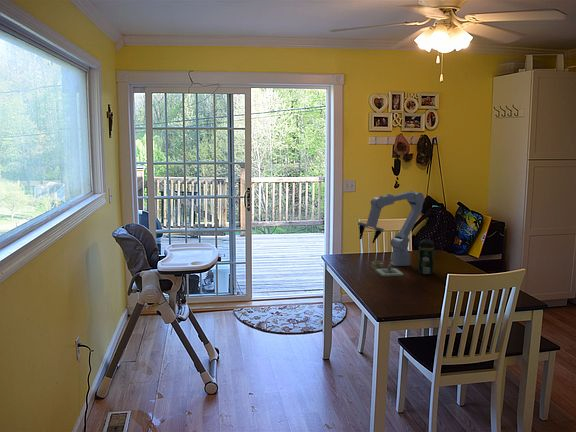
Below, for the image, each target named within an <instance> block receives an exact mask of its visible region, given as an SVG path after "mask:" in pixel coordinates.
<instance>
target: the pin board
mask: <svg viewBox="0 0 576 432" xmlns="http://www.w3.org/2000/svg"><path fill="white" fill-rule="evenodd" d="M374 270H375V272H376V273H378V275H380V276H381V277H403V276H404V275H405V274H404V273H403V272H402V271H400V269H399V268H395V267H394V268H392V264H391V263H389V264H388V265H387V268H383V269H374Z"/></svg>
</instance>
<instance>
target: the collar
mask: <svg viewBox="0 0 576 432" xmlns="http://www.w3.org/2000/svg"><path fill="white" fill-rule="evenodd" d="M370 267H371V268H372V269H373V270H375V269H384V263H383V262H381V261H371V266H370Z"/></svg>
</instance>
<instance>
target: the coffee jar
mask: <svg viewBox="0 0 576 432" xmlns="http://www.w3.org/2000/svg"><path fill="white" fill-rule="evenodd" d="M418 244H419V245H418V264H417V265H418V266H417V267H418V269H417V270H418V273H419V275H423V276H424V275H425V276H427V275H432V274H433V272H434V253H435V252H434V251H435V242H434V241H433V240H432V239H427V238H424V239H422V240H420V241H419V243H418Z"/></svg>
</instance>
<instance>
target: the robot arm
mask: <svg viewBox="0 0 576 432" xmlns="http://www.w3.org/2000/svg"><path fill="white" fill-rule="evenodd" d="M403 200H406V201H407V203H408V204H409V205H410V207H411V210H410V212H409V213H408V215H407V217H406V219H405V220H404V223H403V225H402V227H401V228H400V230H399V232H398V233H395V235H394V236H393V237H392V238H391V240H390V246H391V247H392V261H389V264H390V265H391V266H394V267H401V266H402V267H406V266H410V260H411V257H410V256H411V255H410V251H409V249H408V247H409V242H410V238H409V235H410V234H411V231H412V230H413V228H414V226H415V224H416V222H417V220H418V219H419V216H420V215H421V212H422V211H423V205H424V202H425V200H426V198H425V195H424V194H423V193H422V192H417V191H413V190H411V191H410V190H409V191H405V192H402V193H399V194H398V193H397V194H394V195H393V194H390V193H387V194H386V195H380V196H378V197H377V196H374V197H373V198H372V199H371V200H370V211H369V214H368V217H367V221H366V223H363V222H361V221H359V222H358V224H357V226H358V229H359V240H362V238H363V235H364V234H363V233H364V232H365V229H366V228H367V229H370V230H374V237H373V239H372V243H373V244H375V242H376V240H377V239H378V237H379V236H380V235H381V234H382V233H384V231H385V230H384V228H382V227H377V226H378V222H379V218H380V214H381V212H382V209H383V208H385V207H388V206H391V205H394V204H395V202H397V201H398V202H399V201H403Z"/></svg>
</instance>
